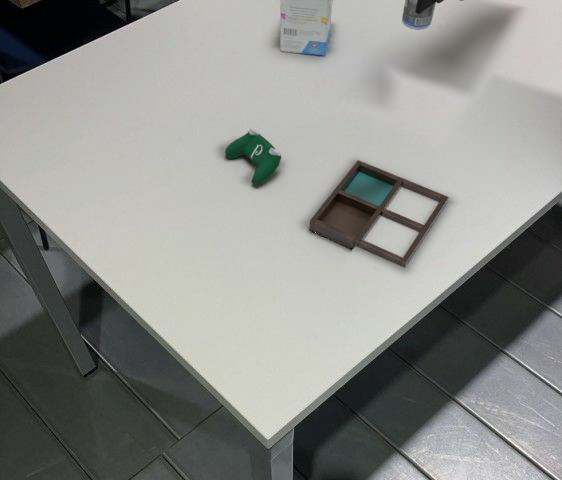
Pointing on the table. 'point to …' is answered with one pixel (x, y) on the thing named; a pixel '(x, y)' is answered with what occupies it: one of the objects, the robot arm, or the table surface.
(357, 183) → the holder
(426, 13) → the pill bottle
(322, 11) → the ink box
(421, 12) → the robot arm
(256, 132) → the gaming controller
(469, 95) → the table surface
